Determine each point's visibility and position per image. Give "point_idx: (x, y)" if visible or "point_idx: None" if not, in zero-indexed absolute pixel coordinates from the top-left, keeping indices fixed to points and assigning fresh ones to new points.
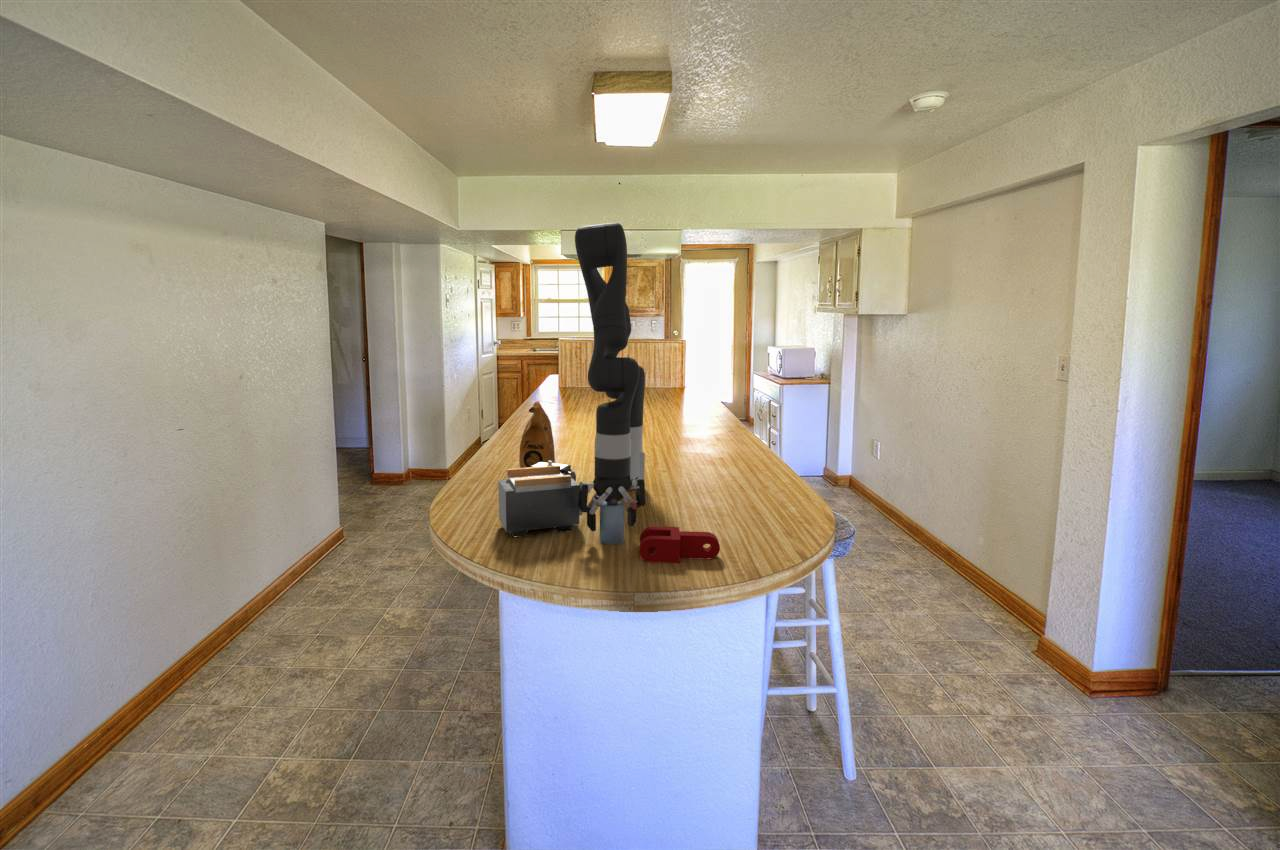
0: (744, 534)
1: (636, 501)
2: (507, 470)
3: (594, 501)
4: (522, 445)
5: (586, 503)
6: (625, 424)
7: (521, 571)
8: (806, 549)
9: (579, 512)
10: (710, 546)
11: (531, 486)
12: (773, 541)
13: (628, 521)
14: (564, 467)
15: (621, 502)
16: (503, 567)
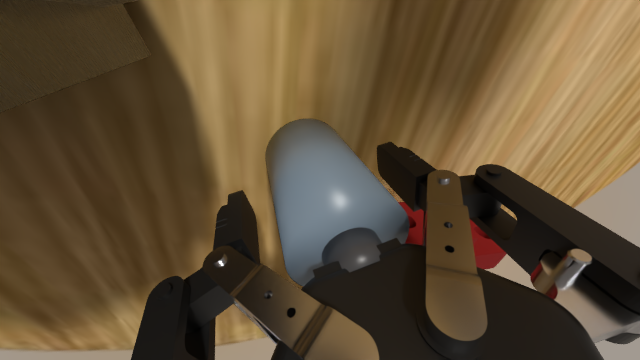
0: (602, 116)
1: (470, 208)
2: None
3: (256, 324)
4: None
5: (210, 351)
6: None
7: (88, 337)
8: (600, 185)
9: (112, 3)
10: (483, 233)
11: None
12: (601, 154)
13: (384, 158)
14: None
15: (401, 223)
16: (16, 337)
